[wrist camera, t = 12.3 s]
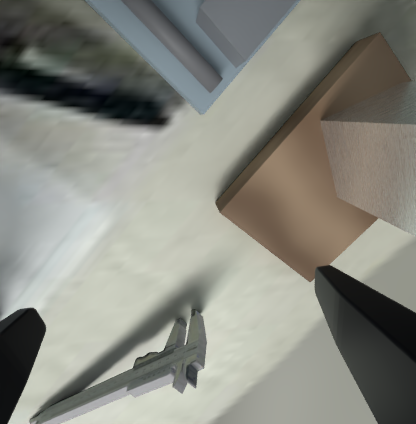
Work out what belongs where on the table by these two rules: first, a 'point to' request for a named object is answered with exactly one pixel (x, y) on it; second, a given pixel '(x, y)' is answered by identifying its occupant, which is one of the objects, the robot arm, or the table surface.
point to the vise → (195, 38)
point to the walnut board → (310, 169)
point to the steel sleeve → (377, 155)
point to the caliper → (141, 374)
